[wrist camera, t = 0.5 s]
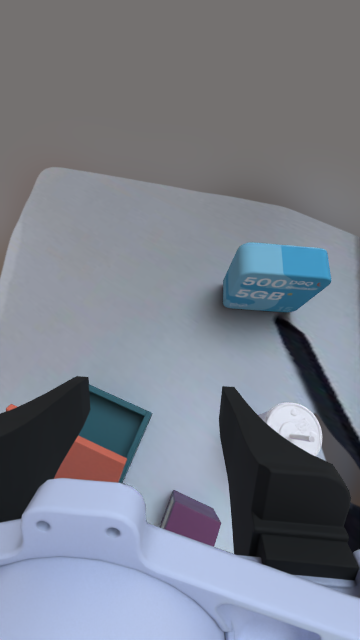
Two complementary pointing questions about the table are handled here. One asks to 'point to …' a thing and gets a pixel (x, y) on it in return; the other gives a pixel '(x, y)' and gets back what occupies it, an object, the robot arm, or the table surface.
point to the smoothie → (295, 425)
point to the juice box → (191, 519)
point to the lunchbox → (115, 425)
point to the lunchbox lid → (89, 461)
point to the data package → (275, 277)
